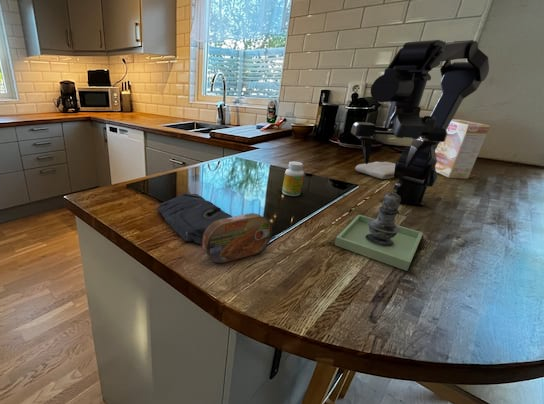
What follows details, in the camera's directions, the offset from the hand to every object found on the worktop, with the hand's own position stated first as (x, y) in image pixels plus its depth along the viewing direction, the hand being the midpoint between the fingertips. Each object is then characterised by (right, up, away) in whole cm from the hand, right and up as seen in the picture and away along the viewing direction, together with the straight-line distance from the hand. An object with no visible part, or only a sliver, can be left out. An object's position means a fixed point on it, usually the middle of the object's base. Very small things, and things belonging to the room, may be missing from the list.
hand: (386, 165), depth 76 cm
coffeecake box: (+51, +2, +41) cm, 65 cm away
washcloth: (+25, +1, +38) cm, 45 cm away
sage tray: (-9, -18, -10) cm, 23 cm away
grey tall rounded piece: (-8, -18, -10) cm, 22 cm away
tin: (-41, -20, -15) cm, 48 cm away
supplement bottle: (-18, -7, +17) cm, 26 cm away
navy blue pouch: (-48, -14, -1) cm, 50 cm away
